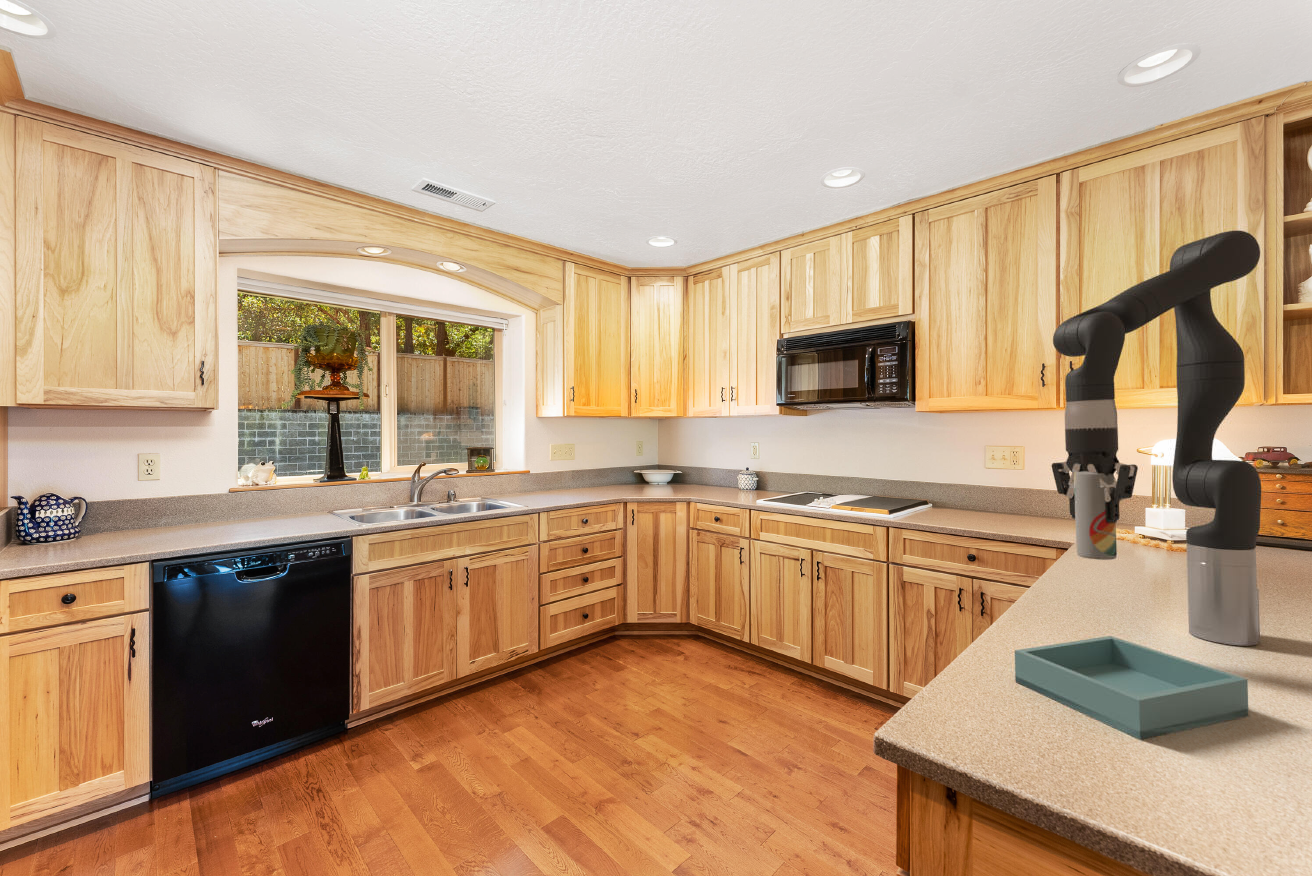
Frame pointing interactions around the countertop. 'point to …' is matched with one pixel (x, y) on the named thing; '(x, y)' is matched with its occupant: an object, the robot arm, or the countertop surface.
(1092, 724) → the countertop surface
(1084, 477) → the lotion bottle
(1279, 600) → the countertop surface
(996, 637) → the countertop surface
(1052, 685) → the tray
